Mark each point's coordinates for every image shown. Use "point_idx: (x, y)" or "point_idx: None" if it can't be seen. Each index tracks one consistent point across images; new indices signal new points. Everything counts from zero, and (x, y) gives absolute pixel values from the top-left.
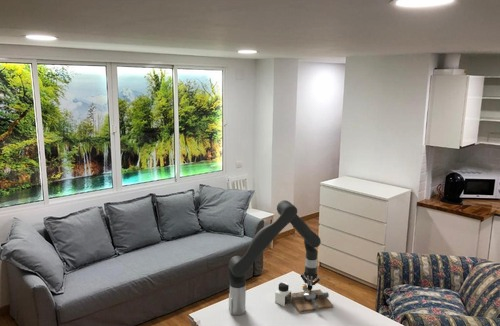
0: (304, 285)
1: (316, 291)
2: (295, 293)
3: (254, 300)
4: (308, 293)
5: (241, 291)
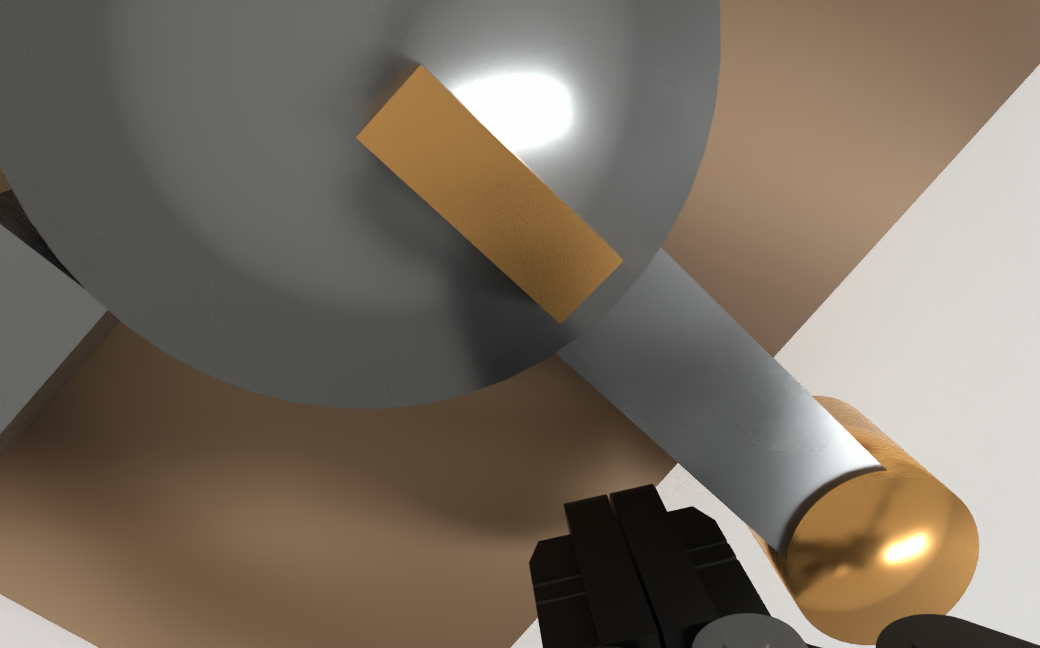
0: (893, 546)
1: (403, 631)
2: (1009, 33)
3: None
4: (409, 27)
5: None
